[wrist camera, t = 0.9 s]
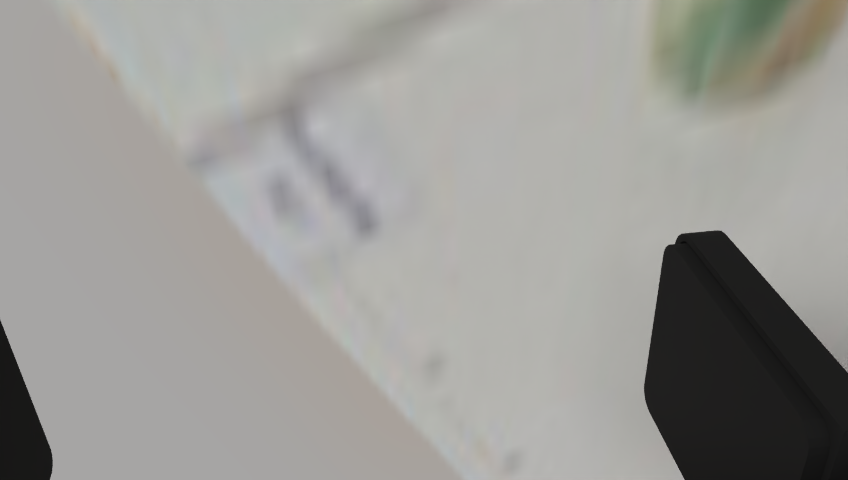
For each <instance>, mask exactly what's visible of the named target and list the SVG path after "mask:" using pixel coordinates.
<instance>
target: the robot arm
mask: <svg viewBox="0 0 848 480" xmlns="http://www.w3.org/2000/svg"><path fill="white" fill-rule="evenodd" d="M644 393H645V400H646V404H647V407H648V410H649V412H650V414H651V416H652V418H653V420H654V422H655V423H656V425H657V427H658V429H659V431H660V433H661V435H662V437H663V439H664V441H665V443H666V445H667V447H668V448H669V450H670V452H671V454H672V456H673V458H674V460H675V462H676V464H677V466H678V468H679V470H680V472H681V473H682V475H683V477H684V479H685V480H848V373H847V372H846V370H845V369H844V368H843V367H842V366H841V365H840V364H839V362H838V361H837V360H836V359H835V358H834V357H833V356H832V354H831V353H830V352H829V351H828V350H827V349H826V348H825V347H824V345H823V344H822V343H821V342H820V341H819V340H818V339H817V337H816V336H815V335H814V334H813V333H812V332H811V331H810V330H809V328H808V327H807V326H806V325H805V324H804V323H803V322H802V320H801V319H800V318H799V317H798V316H797V315H796V314H795V312H794V311H793V310H792V309H791V308H790V307H789V306H788V305H787V303H786V302H785V301H784V300H783V299H782V298H781V297H780V295H779V294H778V293H777V292H776V291H775V290H774V289H773V288H772V286H771V285H770V284H769V283H768V282H767V281H766V280H765V278H764V277H763V276H762V275H761V274H760V273H759V272H758V271H757V269H756V268H755V267H754V266H753V265H752V264H751V263H750V261H749V260H748V259H747V258H746V257H745V256H744V255H743V253H742V252H741V251H740V250H739V249H738V248H737V247H736V246H735V244H734V243H733V242H732V241H731V240H730V239H729V238H728V236H727V235H726V234H725V233H723V232H722V231H706V232H695V233H685V234H681V235H679V236H678V238H677V240H676V242H675V244H673V245H668V246H667V247H666V249H665V251H664V255H663V262H662V268H661V275H660V282H659V289H658V296H657V302H656V309H655V316H654V323H653V330H652V336H651V343H650V350H649V357H648V364H647V370H646V377H645V384H644ZM52 461H53V460H52V453H51V449H50V446H49V444H48V441H47V439H46V436H45V433H44V431H43V428H42V426H41V423H40V421H39V418H38V415H37V413H36V411H35V408H34V405H33V403H32V400H31V398H30V395H29V392H28V390H27V387H26V385H25V382H24V380H23V377H22V375H21V372H20V369H19V367H18V364H17V362H16V359H15V357H14V354H13V352H12V349H11V346H10V344H9V341H8V339H7V336H6V334H5V331H4V328H3V326H2V324H1V321H0V480H50V477H51V474H52V466H53V465H52Z"/></svg>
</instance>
